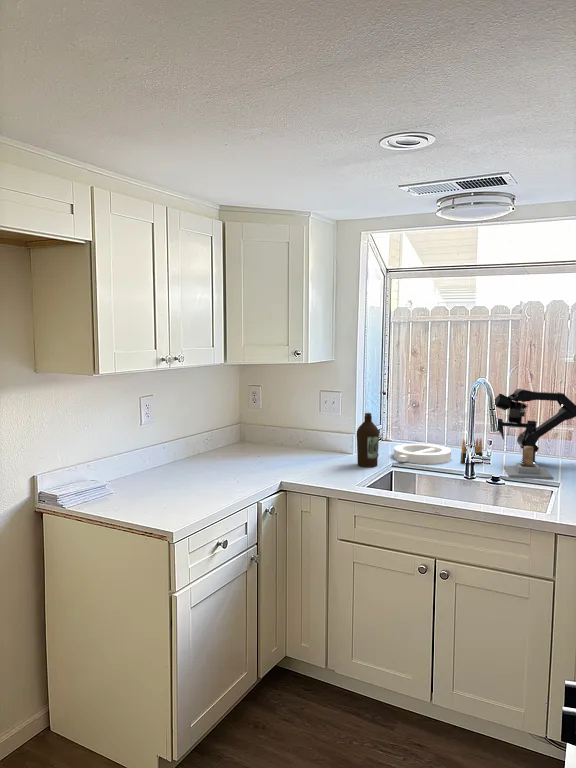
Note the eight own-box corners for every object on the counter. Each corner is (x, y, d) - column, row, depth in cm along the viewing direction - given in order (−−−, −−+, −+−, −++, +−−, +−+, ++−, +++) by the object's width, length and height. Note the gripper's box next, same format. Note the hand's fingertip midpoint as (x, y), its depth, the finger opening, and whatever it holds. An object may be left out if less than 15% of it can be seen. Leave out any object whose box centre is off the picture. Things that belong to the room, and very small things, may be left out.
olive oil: (351, 464, 285) (352, 412, 282) (368, 461, 291) (369, 411, 288) (366, 468, 276) (367, 415, 274) (383, 466, 282) (384, 413, 279)
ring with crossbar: (443, 452, 313) (444, 443, 313) (456, 465, 286) (457, 455, 285) (390, 452, 314) (390, 443, 314) (398, 464, 287) (398, 454, 286)
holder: (503, 467, 279) (504, 460, 279) (544, 469, 275) (545, 462, 275) (509, 476, 261) (509, 469, 261) (553, 479, 257) (553, 471, 257)
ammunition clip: (462, 463, 287) (462, 439, 286) (460, 462, 289) (461, 438, 288) (482, 462, 289) (483, 438, 288) (480, 461, 291) (481, 437, 290)
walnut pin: (521, 470, 270) (522, 446, 268) (528, 469, 271) (529, 445, 269) (526, 472, 266) (527, 448, 264) (534, 471, 267) (535, 447, 266)
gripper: (494, 401, 282) (492, 428, 273) (537, 403, 275) (536, 431, 266) (495, 415, 290) (492, 442, 281) (536, 418, 283) (535, 445, 274)
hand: (513, 439), depth 275 cm, fingers open, 9 cm apart
